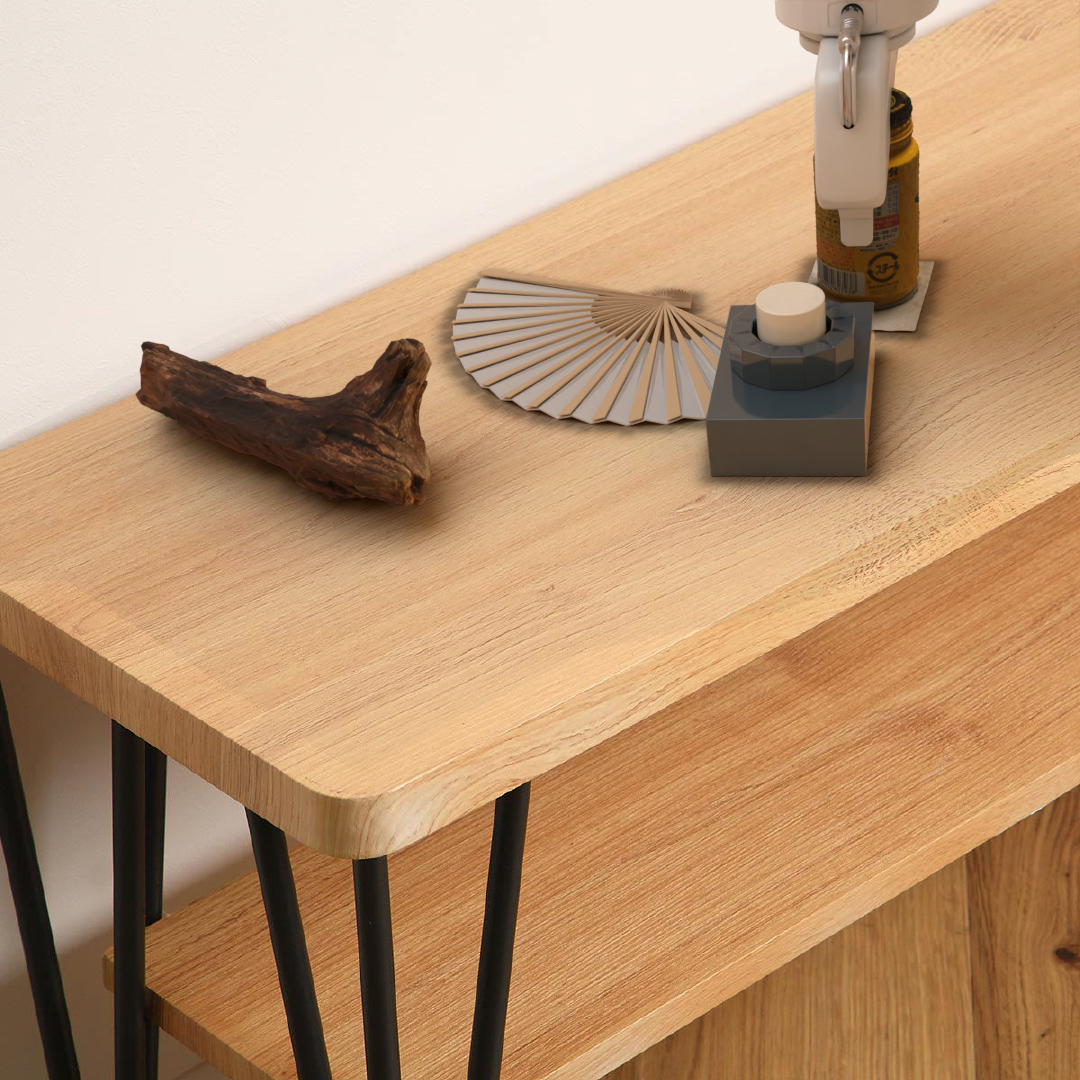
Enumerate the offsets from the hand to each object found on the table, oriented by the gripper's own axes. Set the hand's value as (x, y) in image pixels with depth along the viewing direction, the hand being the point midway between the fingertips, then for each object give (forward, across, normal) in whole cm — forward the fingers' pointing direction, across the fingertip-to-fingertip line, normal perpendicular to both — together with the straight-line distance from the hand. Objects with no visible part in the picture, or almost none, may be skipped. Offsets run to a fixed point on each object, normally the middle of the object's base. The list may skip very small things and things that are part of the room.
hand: (860, 211), depth 96 cm
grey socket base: (+5, -14, +3) cm, 15 cm away
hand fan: (+5, -7, +15) cm, 17 cm away
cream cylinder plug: (0, -14, +3) cm, 14 cm away
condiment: (+5, -1, 0) cm, 5 cm away
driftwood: (+5, -18, +30) cm, 36 cm away
